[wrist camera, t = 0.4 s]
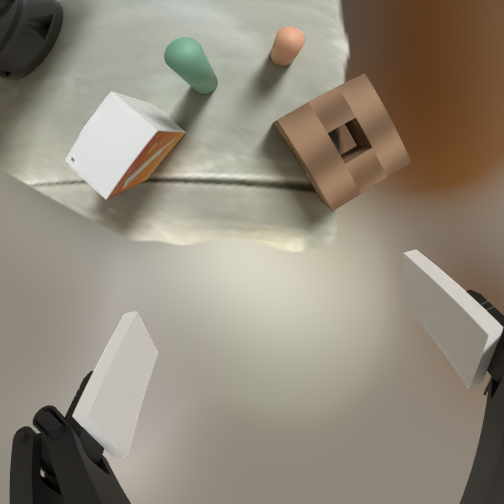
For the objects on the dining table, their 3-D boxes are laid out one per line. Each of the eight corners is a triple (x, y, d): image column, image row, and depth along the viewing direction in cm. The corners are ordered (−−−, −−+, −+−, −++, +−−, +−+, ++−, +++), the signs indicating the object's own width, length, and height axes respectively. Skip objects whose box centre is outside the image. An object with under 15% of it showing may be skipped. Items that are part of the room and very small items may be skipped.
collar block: (273, 122, 34) (277, 120, 29) (350, 80, 31) (364, 73, 27) (321, 201, 37) (332, 211, 33) (392, 158, 35) (411, 162, 31)
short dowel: (265, 51, 30) (270, 33, 23) (285, 41, 29) (294, 22, 23) (279, 69, 31) (286, 55, 24) (298, 59, 30) (310, 43, 24)
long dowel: (189, 81, 31) (157, 51, 18) (209, 67, 31) (189, 30, 18) (202, 98, 32) (176, 77, 19) (222, 85, 32) (209, 56, 19)
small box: (148, 180, 36) (105, 202, 24) (115, 151, 34) (61, 161, 22) (188, 132, 34) (159, 130, 22) (152, 102, 32) (109, 89, 20)
